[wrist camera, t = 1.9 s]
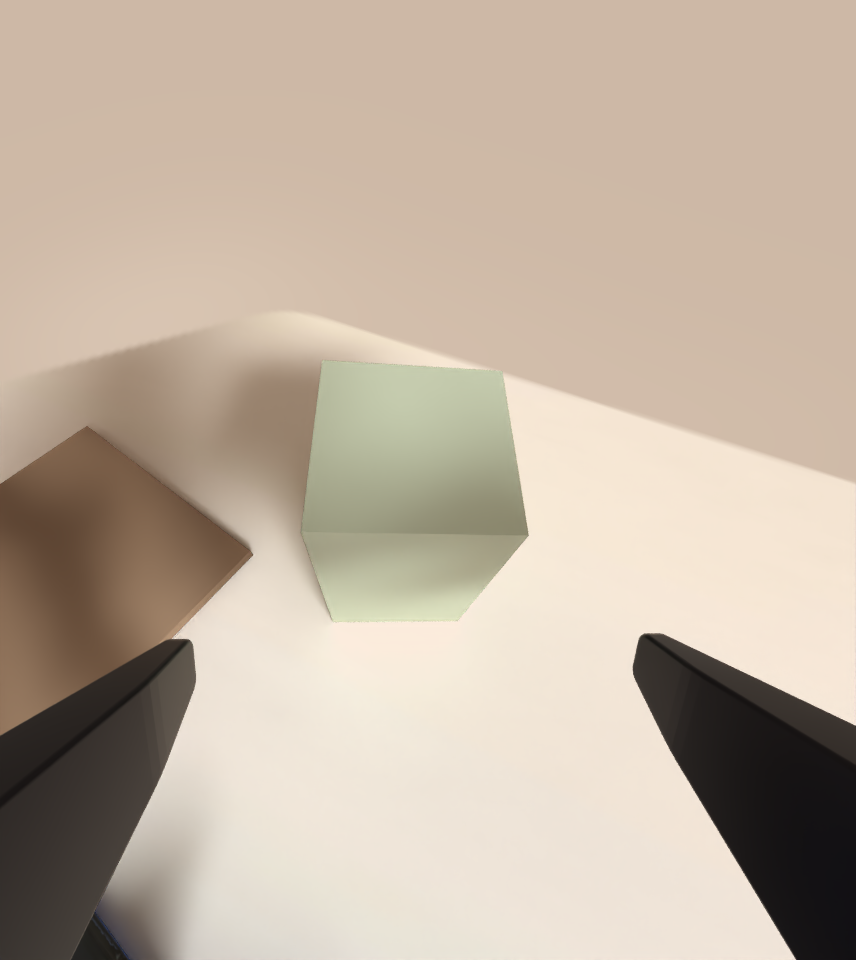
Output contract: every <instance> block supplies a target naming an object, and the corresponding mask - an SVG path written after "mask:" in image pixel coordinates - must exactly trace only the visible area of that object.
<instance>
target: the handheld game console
mask: <svg viewBox="0 0 856 960" xmlns="http://www.w3.org/2000/svg"><path fill="white" fill-rule="evenodd" d="M71 960H130V959H129V958H128V956H127V955H126V954H125V952H124V951H123V949H122V948H121V947H120V945H119V944H118V942H117V941H116V940H115V938H114V937H113V935H112V934H111V933H110V931H109V930H108V928H107V927H106V926H105V924H104V923H103V922H102V920H101V919H100V918H99V916H98V915H97V914H96V912H94V914H93V916H92V918H91V920H90V922H89V924H88V926H87V928H86V930H85V932H84V934H83V936H82V938H81V940H80V942H79V944H78V946H77V948H76V950H75V952H74V954H73V956H72V958H71Z"/></svg>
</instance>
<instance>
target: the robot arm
mask: <svg viewBox="0 0 856 960" xmlns="http://www.w3.org/2000/svg"><path fill="white" fill-rule="evenodd" d="M633 675H634V678H635V680H636V682H637V684H638V687H639V689H640V691H641V693H642V695H643V697H644V699H645V701H646V703H647V705H648V707H649V709H650V711H651V713H652V715H653V717H654V719H655V721H656V723H657V725H658V727H659V729H660V731H661V733H662V735H663V737H664V739H665V741H666V743H667V745H668V747H669V749H670V751H671V753H672V754H673V756H674V758H675V760H676V761H677V763H678V765H679V766H680V768H681V770H682V771H683V773H684V775H685V776H686V778H687V780H688V781H689V783H690V785H691V786H692V788H693V790H694V791H695V793H696V795H697V796H698V798H699V800H700V801H701V803H702V805H703V806H704V808H705V810H706V811H707V813H708V815H709V816H710V818H711V820H712V821H713V823H714V825H715V826H716V828H717V830H718V831H719V833H720V835H721V836H722V838H723V839H724V841H725V843H726V844H727V846H728V848H729V849H730V851H731V853H732V854H733V856H734V858H735V859H736V861H737V863H738V864H739V866H740V868H741V869H742V871H743V873H744V874H745V876H746V878H747V879H748V881H749V883H750V884H751V886H752V888H753V889H754V891H755V893H756V894H757V896H758V898H759V899H760V901H761V903H762V904H763V906H764V908H765V909H766V911H767V912H768V914H769V916H770V917H771V919H772V921H773V922H774V924H775V926H776V927H777V929H778V931H779V932H780V934H781V936H782V937H783V939H784V941H785V942H786V944H787V946H788V947H789V949H790V951H791V952H792V954H793V956H794V957H795V959H796V960H856V726H855V725H853V724H851V723H849V722H847V721H845V720H843V719H840V718H838V717H836V716H834V715H832V714H830V713H828V712H826V711H824V710H822V709H819V708H817V707H815V706H813V705H811V704H809V703H807V702H805V701H803V700H801V699H798V698H796V697H794V696H792V695H790V694H788V693H786V692H784V691H782V690H780V689H777V688H775V687H773V686H771V685H769V684H767V683H765V682H763V681H761V680H759V679H756V678H754V677H752V676H750V675H748V674H746V673H744V672H742V671H740V670H738V669H735V668H733V667H731V666H729V665H727V664H725V663H723V662H721V661H719V660H716V659H714V658H712V657H710V656H708V655H706V654H704V653H702V652H700V651H698V650H695V649H693V648H691V647H689V646H687V645H685V644H683V643H681V642H679V641H677V640H674V639H672V638H670V637H668V636H666V635H664V634H660V633H647V634H643V635H641V636H640V638H639V640H638V645H637V649H636V654H635V658H634V663H633ZM195 683H196V671H195V660H194V650H193V644H192V642H191V641H190V640H189V639H168V640H165V641H163V642H161V643H160V644H158V645H156V646H154V647H153V648H151V649H149V650H148V651H146V652H144V653H142V654H141V655H139V656H137V657H135V658H134V659H132V660H130V661H128V662H127V663H125V664H123V665H121V666H120V667H118V668H116V669H115V670H113V671H111V672H109V673H108V674H106V675H104V676H102V677H101V678H99V679H97V680H95V681H94V682H92V683H90V684H88V685H87V686H85V687H83V688H82V689H80V690H78V691H76V692H75V693H73V694H71V695H69V696H68V697H66V698H64V699H62V700H61V701H59V702H57V703H55V704H54V705H52V706H50V707H48V708H47V709H45V710H43V711H42V712H40V713H38V714H36V715H35V716H33V717H31V718H29V719H28V720H26V721H24V722H22V723H21V724H19V725H17V726H15V727H14V728H12V729H10V730H8V731H7V732H5V733H3V734H2V735H0V960H71V958H72V956H73V954H74V952H75V950H76V948H77V946H78V944H79V942H80V940H81V938H82V936H83V934H84V932H85V930H86V928H87V926H88V924H89V922H90V920H91V918H92V916H93V914H94V912H95V910H96V908H97V905H98V903H99V901H100V899H101V897H102V895H103V893H104V891H105V889H106V887H107V885H108V883H109V881H110V879H111V877H112V875H113V873H114V871H115V869H116V867H117V865H118V863H119V861H120V859H121V857H122V855H123V853H124V851H125V849H126V847H127V845H128V843H129V841H130V839H131V837H132V834H133V832H134V830H135V828H136V826H137V824H138V822H139V820H140V818H141V816H142V814H143V812H144V810H145V808H146V806H147V804H148V802H149V800H150V798H151V796H152V794H153V792H154V790H155V788H156V786H157V783H158V781H159V779H160V777H161V775H162V772H163V770H164V767H165V765H166V762H167V760H168V757H169V755H170V752H171V749H172V747H173V744H174V741H175V739H176V736H177V733H178V731H179V728H180V725H181V723H182V720H183V717H184V715H185V712H186V709H187V707H188V704H189V701H190V699H191V696H192V694H193V691H194V687H195Z"/></svg>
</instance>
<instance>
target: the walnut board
mask: <svg viewBox="0 0 856 960" xmlns="http://www.w3.org/2000/svg"><path fill="white" fill-rule="evenodd" d="M252 556H253V554H252V553H251V552H250V550H248V549H247V548H246V547H244V546H243V545H242V544H240V543H239V542H238V541H236V540H235V539H234V538H233V537H231V536H230V535H229V534H227V533H226V532H225V531H223V530H222V529H221V528H220V527H218V526H217V525H216V524H214V523H213V522H212V521H210V520H209V519H208V518H206V517H205V516H204V515H203V514H201V513H200V512H199V511H197V510H196V509H195V508H193V507H192V506H191V505H189V504H188V503H187V502H186V501H184V500H183V499H182V498H180V497H179V496H178V495H176V494H175V493H174V492H173V491H171V490H170V489H169V488H167V487H166V486H165V485H163V484H162V483H161V482H159V481H158V480H157V479H156V478H154V477H153V476H152V475H150V474H149V473H148V472H146V471H145V470H144V469H143V468H141V467H140V466H139V465H137V464H136V463H135V462H133V461H132V460H131V459H129V458H128V457H127V456H126V455H124V454H123V453H122V452H120V451H119V450H118V449H116V448H115V447H114V446H113V445H111V444H110V443H109V442H107V441H106V440H105V439H103V438H102V437H101V436H99V435H98V434H97V433H96V432H94V431H93V430H92V429H90V428H89V427H88V426H86V427H85V428H83V429H82V430H80V431H79V432H77V433H76V434H74V435H73V436H71V437H70V438H68V439H67V440H66V441H64V442H63V443H61V444H60V445H58V446H57V447H55V448H54V449H52V450H51V451H49V452H48V453H46V454H45V455H43V456H42V457H40V458H39V459H37V460H36V461H34V462H33V463H31V464H30V465H28V466H27V467H25V468H24V469H22V470H21V471H19V472H18V473H16V474H15V475H13V476H12V477H10V478H9V479H7V480H6V481H4V482H3V483H1V484H0V735H2V734H3V733H5V732H7V731H8V730H10V729H12V728H14V727H15V726H17V725H19V724H21V723H22V722H24V721H26V720H28V719H29V718H31V717H33V716H35V715H36V714H38V713H40V712H42V711H43V710H45V709H47V708H48V707H50V706H52V705H54V704H55V703H57V702H59V701H61V700H62V699H64V698H66V697H68V696H69V695H71V694H73V693H75V692H76V691H78V690H80V689H82V688H83V687H85V686H87V685H88V684H90V683H92V682H94V681H95V680H97V679H99V678H101V677H102V676H104V675H106V674H108V673H109V672H111V671H113V670H115V669H116V668H118V667H120V666H121V665H123V664H125V663H127V662H128V661H130V660H132V659H134V658H135V657H137V656H139V655H141V654H142V653H144V652H146V651H148V650H149V649H151V648H153V647H154V646H156V645H158V644H160V643H161V642H163V641H165V640H168V639H171V638H172V637H173V636H174V635H175V634H176V633H177V632H178V631H179V630H180V629H181V628H182V627H183V626H184V625H185V624H186V623H187V622H188V621H189V620H190V619H191V618H192V617H193V616H194V615H195V614H196V613H197V612H198V611H199V610H200V609H201V608H202V607H203V606H204V605H205V604H206V603H207V602H208V601H209V600H210V599H211V597H212V596H213V595H214V594H215V593H216V592H217V591H218V590H219V589H220V588H221V587H222V586H223V585H224V584H225V583H226V582H227V581H228V580H229V579H230V578H231V577H232V576H233V575H234V574H235V573H236V572H237V571H238V570H239V569H240V568H241V567H242V566H243V565H244V564H245V563H246V562H247V561H248V560H249V559H250V558H251V557H252Z"/></svg>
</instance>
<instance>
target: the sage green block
mask: <svg viewBox="0 0 856 960" xmlns="http://www.w3.org/2000/svg"><path fill="white" fill-rule="evenodd" d="M301 534H302V537H303V540H304V542H305V545H306V548H307V551H308V554H309V556H310V559H311V562H312V565H313V567H314V570H315V573H316V576H317V579H318V581H319V584H320V587H321V590H322V592H323V595H324V598H325V601H326V604H327V606H328V609H329V612H330V615H331V617H332V620H333V622H421V621H458V620H459V619H460V617H461V616H462V615H463V614H464V613H465V611H466V610H467V609H468V608H469V607H470V605H471V604H472V603H473V602H474V601H475V599H476V598H477V597H478V596H479V595H480V593H481V592H482V591H483V590H484V589H485V587H486V586H487V585H488V584H489V582H490V581H491V580H492V579H493V578H494V576H495V575H496V574H497V573H498V572H499V570H500V569H501V568H502V567H503V566H504V564H505V563H506V562H507V561H508V560H509V558H510V557H511V556H512V555H513V554H514V552H515V551H516V550H517V549H518V548H519V546H520V545H521V544H522V543H523V542H524V540H525V539H526V538H527V537H528V536H529V535H528V528H527V522H526V516H525V510H524V503H523V497H522V491H521V485H520V478H519V472H518V466H517V460H516V454H515V447H514V441H513V435H512V429H511V422H510V416H509V410H508V404H507V397H506V391H505V385H504V379H503V372H502V371H492V370H476V369H460V368H444V367H427V366H411V365H395V364H378V363H362V362H346V361H329V360H322V366H321V374H320V382H319V390H318V398H317V406H316V414H315V422H314V430H313V438H312V446H311V454H310V462H309V470H308V478H307V486H306V494H305V502H304V510H303V518H302V526H301Z"/></svg>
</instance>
